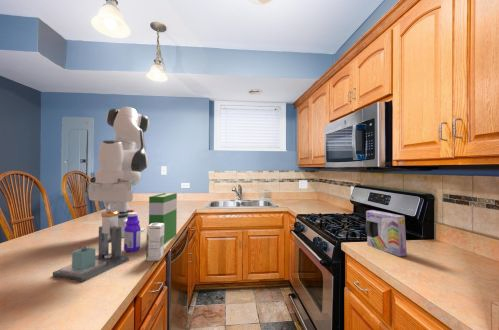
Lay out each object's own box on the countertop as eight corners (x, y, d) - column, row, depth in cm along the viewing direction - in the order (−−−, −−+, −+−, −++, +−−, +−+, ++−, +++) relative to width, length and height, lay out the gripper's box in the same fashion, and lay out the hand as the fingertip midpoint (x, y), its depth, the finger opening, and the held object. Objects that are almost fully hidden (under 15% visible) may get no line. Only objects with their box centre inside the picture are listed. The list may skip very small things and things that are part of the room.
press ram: (110, 239, 101) (111, 210, 101) (122, 240, 99) (122, 211, 99) (97, 243, 95) (97, 213, 95) (109, 245, 93) (109, 214, 93)
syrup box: (150, 256, 102) (150, 222, 103) (164, 255, 103) (164, 222, 103) (145, 261, 97) (146, 226, 97) (160, 260, 97) (160, 225, 97)
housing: (85, 261, 90) (85, 243, 90) (95, 263, 88) (95, 244, 88) (71, 267, 85) (72, 247, 85) (82, 268, 83) (82, 249, 83)
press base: (103, 256, 102) (103, 224, 102) (129, 260, 98) (129, 226, 98) (52, 276, 83) (53, 236, 83) (81, 282, 79) (82, 240, 79)
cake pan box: (364, 244, 120) (364, 209, 120) (372, 243, 121) (372, 209, 121) (398, 257, 101) (398, 216, 102) (407, 256, 103) (407, 216, 103)
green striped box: (163, 234, 135) (164, 193, 136) (176, 235, 135) (176, 193, 135) (148, 244, 118) (149, 196, 118) (163, 245, 117) (163, 196, 118)
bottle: (142, 249, 111) (143, 212, 111) (132, 253, 106) (132, 214, 106) (132, 247, 114) (132, 211, 114) (121, 251, 109) (121, 213, 109)
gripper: (136, 179, 97) (136, 212, 97) (99, 178, 104) (98, 209, 103) (124, 179, 91) (124, 215, 91) (85, 178, 97) (84, 212, 97)
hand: (110, 212), depth 97 cm, fingers closed, pressing on press ram
